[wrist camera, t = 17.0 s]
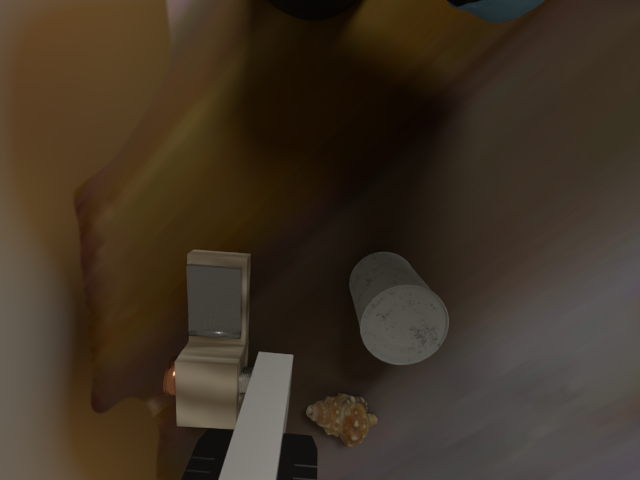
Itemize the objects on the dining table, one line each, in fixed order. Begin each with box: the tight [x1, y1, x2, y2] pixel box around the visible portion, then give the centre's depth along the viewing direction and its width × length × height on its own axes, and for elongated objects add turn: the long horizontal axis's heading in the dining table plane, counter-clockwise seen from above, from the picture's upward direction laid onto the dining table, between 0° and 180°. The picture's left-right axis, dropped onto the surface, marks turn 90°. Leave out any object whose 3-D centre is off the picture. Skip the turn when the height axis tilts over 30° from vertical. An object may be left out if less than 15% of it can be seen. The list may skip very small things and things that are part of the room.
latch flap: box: [186, 264, 242, 339], centre depth 43 cm, size 11×7×1 cm, turn 176°
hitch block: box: [175, 250, 251, 429], centre depth 44 cm, size 23×8×7 cm, turn 176°
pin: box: [163, 356, 254, 396], centre depth 46 cm, size 5×14×5 cm, turn 86°
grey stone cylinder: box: [349, 252, 449, 365], centre depth 40 cm, size 10×10×12 cm
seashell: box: [306, 393, 378, 447], centre depth 49 cm, size 9×8×10 cm
